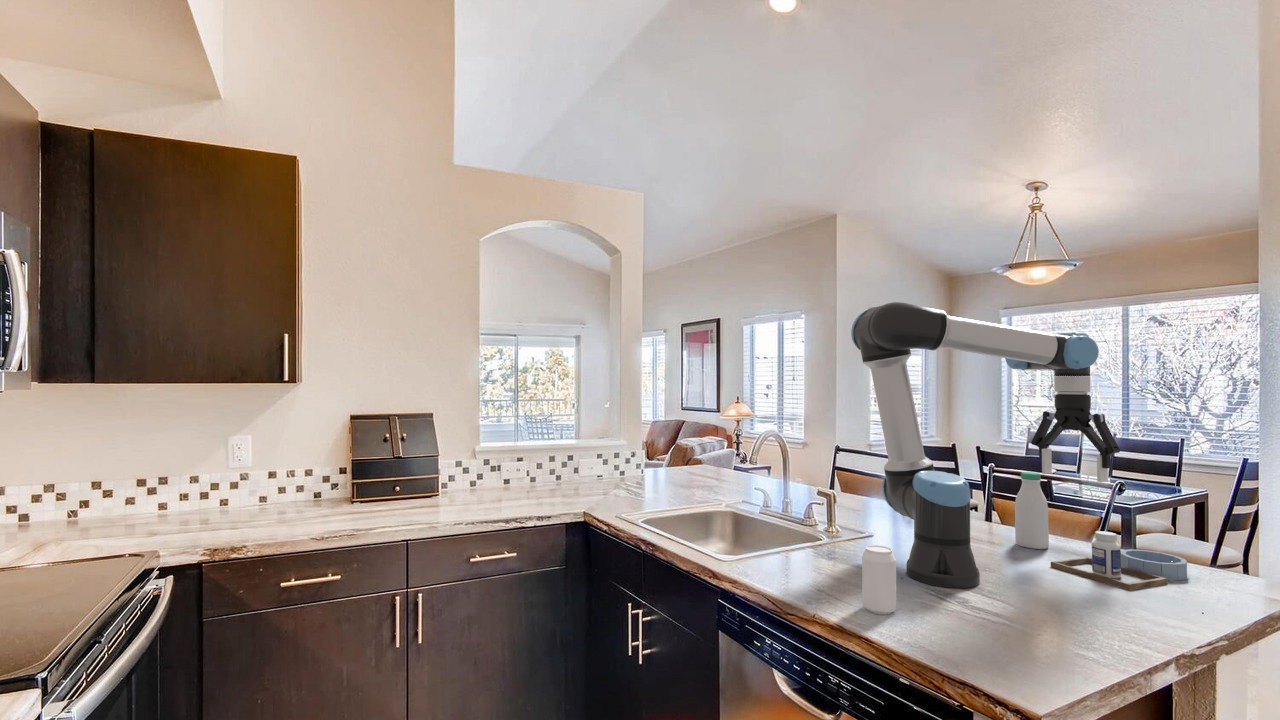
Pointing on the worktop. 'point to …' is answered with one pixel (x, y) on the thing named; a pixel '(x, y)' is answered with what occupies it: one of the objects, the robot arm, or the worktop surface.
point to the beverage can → (879, 580)
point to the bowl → (1155, 563)
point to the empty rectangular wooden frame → (1151, 581)
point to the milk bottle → (1031, 513)
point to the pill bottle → (1106, 555)
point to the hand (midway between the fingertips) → (1073, 477)
